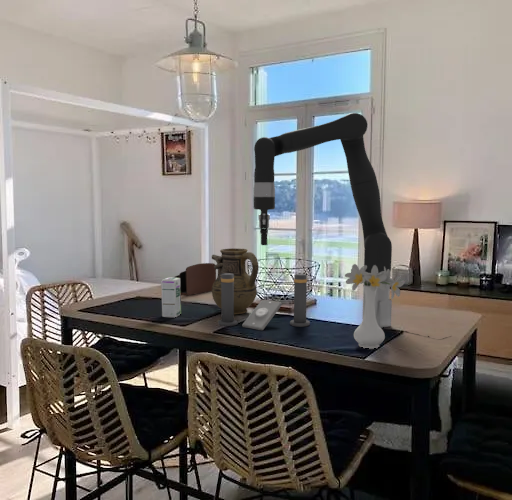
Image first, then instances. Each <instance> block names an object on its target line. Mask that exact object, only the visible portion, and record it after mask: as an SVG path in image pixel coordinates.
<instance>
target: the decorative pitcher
mask: <svg viewBox="0 0 512 500" xmlns="http://www.w3.org/2000/svg"><path fill="white" fill-rule="evenodd" d="M219 251H220V254H221V255H218V254H212V255H211V259H212V260H213V261H215V262H216V264H215V266H214V268H215V269H216V270H217V275H216V280H215V282H214V283H213V286H212V291H211V295H212V300H214V304H216V305H217V307H218V308H219V309H221V274H225V273H231V274H234V315H243V314H246V313H247V312H248V308H249V307H251V305H253V303H254V301H255V300H256V297H257V292H258V291H257V289H258V288H257V285H256V280H257V278H258V273H259V261H258V258H257V257H256V255H255V254H254V253H253V252H251V251H248V249H247V248H234V247H233V248H231V247H230V248H222V249H220V250H219ZM247 260H249V261H250V263H251V266H252V267H251V268H252V269H251V274H248V272H247V269H246V268H247V267H246V261H247Z"/></svg>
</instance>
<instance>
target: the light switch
mask: <svg viewBox="0 0 512 500" xmlns="http://www.w3.org/2000/svg"><path fill="white" fill-rule="evenodd" d="M282 305H283V303H282V302H281V301H275V300H268V299H261V300H260V302H259V303H258V304H257V305H256V307H255V308H254V309H253V310H252V312H251V313H250V314H249V315H248V316H247V318H246V319H245V320H244V322H243V323H242V328H247V329H253V330H257V331H264V329H265V328H266V327H267V326H268V324H269V323H270V321H271V320H272V319H273V317H274V316H275V315H276V314H277V312H278V311H279V310H280V308H281V307H282Z"/></svg>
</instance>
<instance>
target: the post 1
mask: <svg viewBox="0 0 512 500" xmlns="http://www.w3.org/2000/svg"><path fill="white" fill-rule="evenodd" d="M220 309H221V311H220V312H221V316H220V317H221V319H218V320H217V325H219V326H220V327H221V326H222V327H232V326H233V327H234V326H236V325H238V320H237V319H235V318H234V317H235V316H234V315H235V314H234V274H231V273H225V274H221V308H220Z"/></svg>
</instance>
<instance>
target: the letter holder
mask: <svg viewBox="0 0 512 500" xmlns="http://www.w3.org/2000/svg"><path fill="white" fill-rule="evenodd" d="M215 265H216V264H215V263H213V262H206V263H205V262H204V263H197V264H192V265H189V266H187V267H186V268H185V270H183V271H181V272H180V273H179V274H177V275H175V276H174V277H176V278H180V286H181V296H182V295H183V296H192V295H196V294H197V295H198V294H203V293H207V292H212V286H213V283H214V282H215V280H216V279H217V269H215V268H214V266H215Z"/></svg>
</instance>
